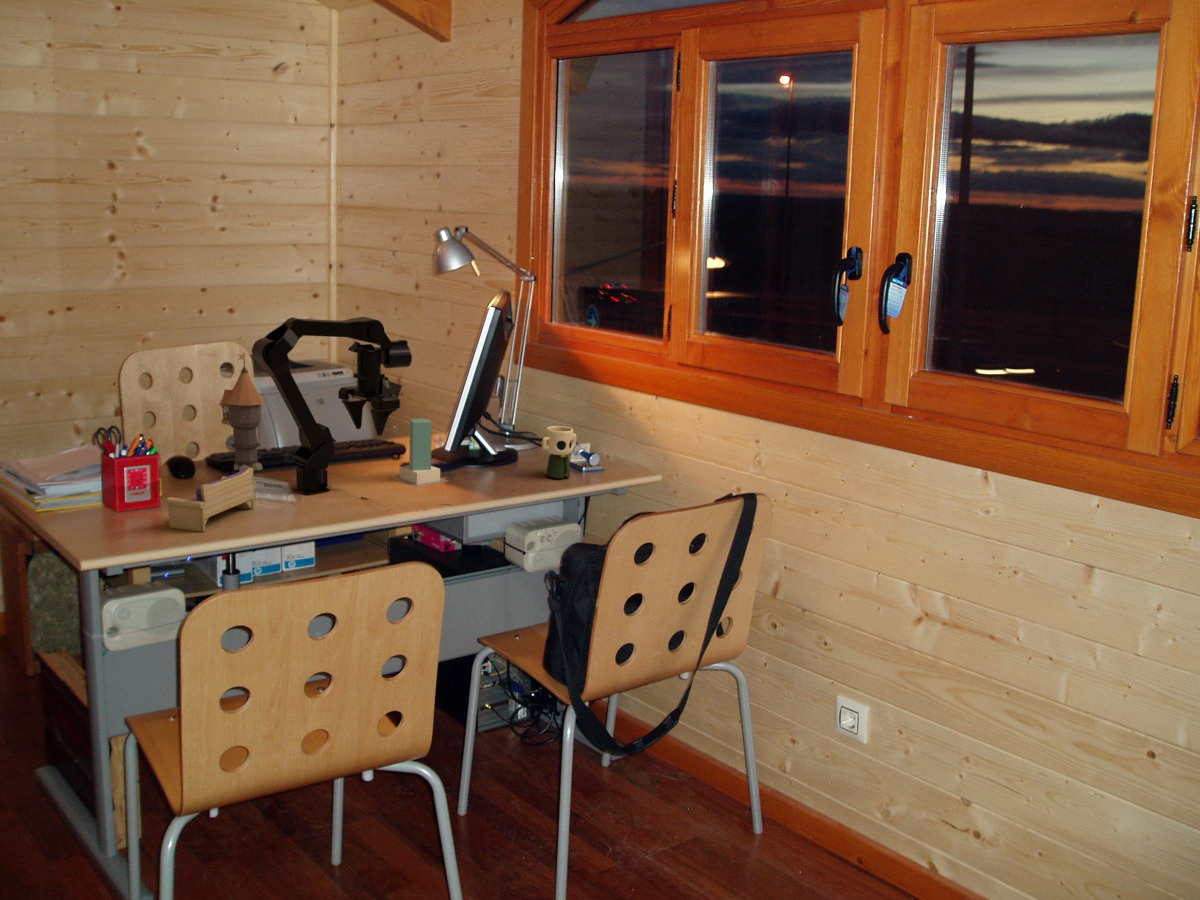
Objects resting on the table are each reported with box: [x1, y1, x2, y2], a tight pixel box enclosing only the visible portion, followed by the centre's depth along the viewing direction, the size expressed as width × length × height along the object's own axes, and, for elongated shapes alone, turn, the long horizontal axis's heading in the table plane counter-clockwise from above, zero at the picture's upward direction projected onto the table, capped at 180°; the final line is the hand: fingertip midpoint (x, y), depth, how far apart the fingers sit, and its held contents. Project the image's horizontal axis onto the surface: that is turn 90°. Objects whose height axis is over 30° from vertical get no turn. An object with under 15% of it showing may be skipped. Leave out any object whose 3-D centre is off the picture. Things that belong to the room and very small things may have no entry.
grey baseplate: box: [391, 476, 448, 488], centre depth 281 cm, size 10×10×2 cm
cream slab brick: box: [399, 465, 441, 485], centre depth 280 cm, size 7×7×3 cm
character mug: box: [541, 425, 577, 479], centre depth 293 cm, size 11×7×13 cm, turn 130°
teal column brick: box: [409, 418, 433, 471], centre depth 278 cm, size 4×4×12 cm
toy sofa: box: [166, 468, 258, 533], centre depth 246 cm, size 21×9×10 cm, turn 164°
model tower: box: [218, 352, 266, 472], centre depth 287 cm, size 10×11×30 cm
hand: (369, 432), depth 278 cm, fingers open, 9 cm apart
